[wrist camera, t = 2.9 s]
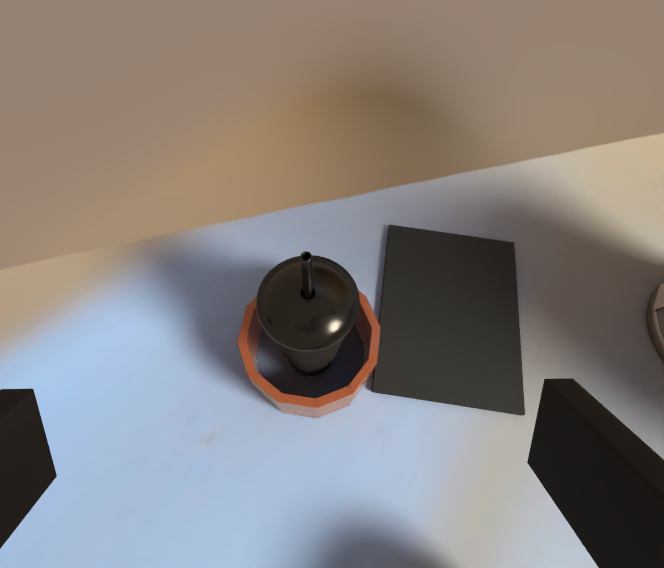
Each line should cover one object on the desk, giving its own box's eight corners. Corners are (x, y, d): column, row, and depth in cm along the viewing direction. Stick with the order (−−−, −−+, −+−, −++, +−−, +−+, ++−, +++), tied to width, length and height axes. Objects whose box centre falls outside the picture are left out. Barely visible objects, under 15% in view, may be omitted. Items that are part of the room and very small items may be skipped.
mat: (512, 244, 48) (514, 242, 48) (522, 415, 40) (525, 414, 39) (388, 227, 49) (389, 224, 48) (371, 392, 40) (372, 390, 40)
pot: (376, 306, 44) (385, 282, 39) (364, 425, 39) (371, 416, 33) (264, 290, 45) (257, 264, 39) (236, 405, 39) (223, 393, 34)
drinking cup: (307, 305, 44) (300, 184, 26) (362, 348, 42) (395, 250, 24) (258, 357, 41) (213, 262, 23) (314, 406, 39) (312, 343, 21)
